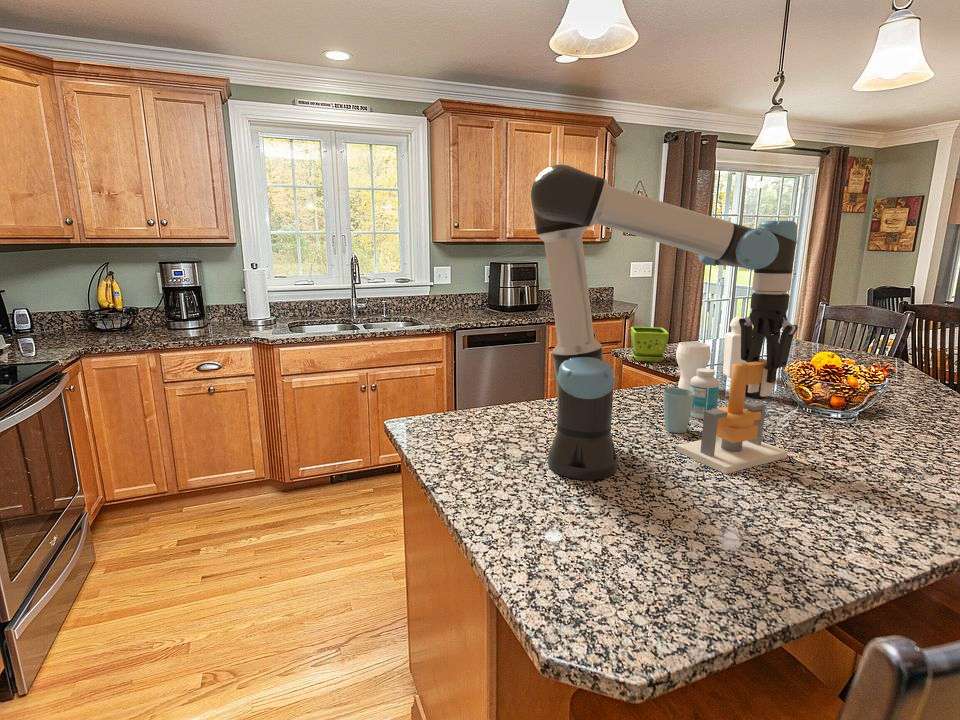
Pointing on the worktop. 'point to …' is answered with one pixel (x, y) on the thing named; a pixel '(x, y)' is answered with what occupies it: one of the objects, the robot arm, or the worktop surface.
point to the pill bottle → (704, 392)
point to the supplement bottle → (755, 394)
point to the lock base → (733, 457)
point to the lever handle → (741, 404)
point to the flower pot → (649, 343)
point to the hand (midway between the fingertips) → (759, 393)
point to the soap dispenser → (732, 347)
